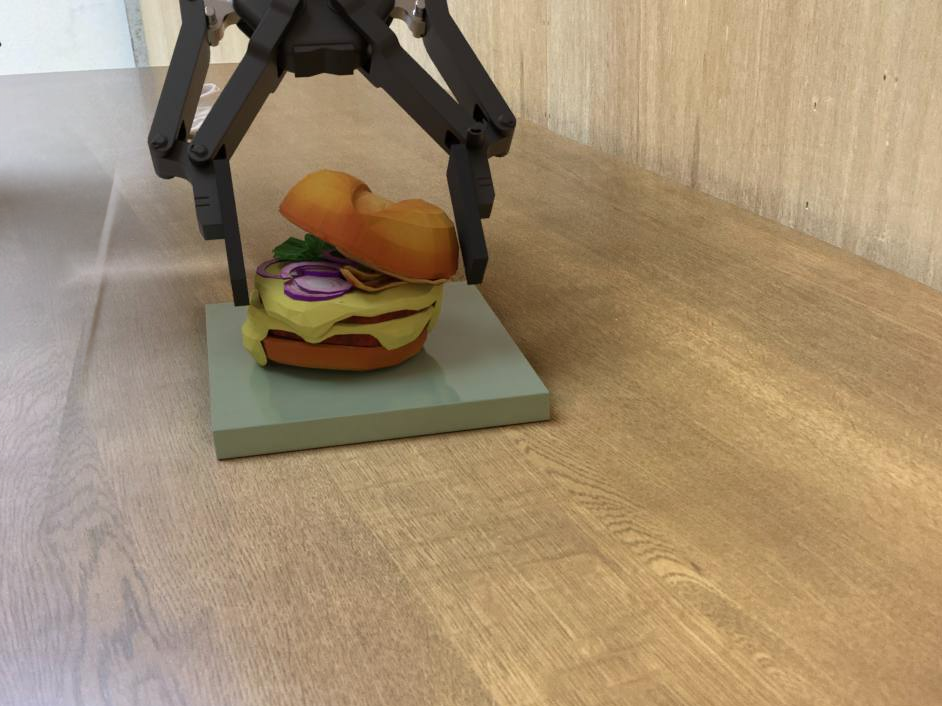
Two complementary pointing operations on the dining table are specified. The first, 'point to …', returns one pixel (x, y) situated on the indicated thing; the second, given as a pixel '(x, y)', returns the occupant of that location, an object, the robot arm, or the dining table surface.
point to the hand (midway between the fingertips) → (362, 282)
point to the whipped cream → (205, 104)
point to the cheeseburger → (350, 278)
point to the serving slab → (371, 386)
